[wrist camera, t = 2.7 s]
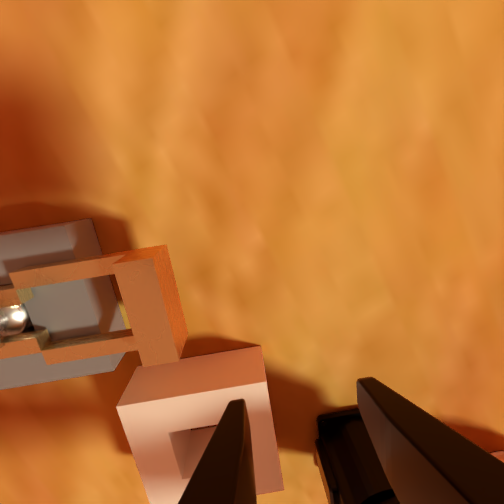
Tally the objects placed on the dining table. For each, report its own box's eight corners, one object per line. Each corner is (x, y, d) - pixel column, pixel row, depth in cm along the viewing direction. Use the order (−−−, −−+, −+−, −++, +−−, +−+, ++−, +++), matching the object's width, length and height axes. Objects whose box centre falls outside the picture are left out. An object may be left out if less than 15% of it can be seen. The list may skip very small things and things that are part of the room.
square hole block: (260, 345, 22) (266, 381, 18) (276, 441, 24) (284, 490, 21) (137, 366, 22) (115, 406, 18) (166, 459, 24) (153, 512, 20)
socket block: (91, 218, 18) (64, 225, 16) (130, 344, 21) (113, 371, 18) (-87, 246, 18) (-147, 258, 15) (-24, 370, 21) (-66, 400, 18)
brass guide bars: (166, 244, 16) (152, 257, 13) (188, 333, 18) (179, 361, 15) (-64, 281, 16) (-126, 302, 13) (-21, 367, 17) (-68, 402, 15)
